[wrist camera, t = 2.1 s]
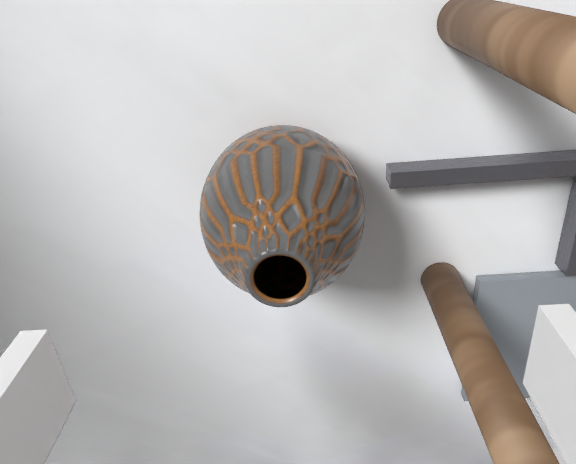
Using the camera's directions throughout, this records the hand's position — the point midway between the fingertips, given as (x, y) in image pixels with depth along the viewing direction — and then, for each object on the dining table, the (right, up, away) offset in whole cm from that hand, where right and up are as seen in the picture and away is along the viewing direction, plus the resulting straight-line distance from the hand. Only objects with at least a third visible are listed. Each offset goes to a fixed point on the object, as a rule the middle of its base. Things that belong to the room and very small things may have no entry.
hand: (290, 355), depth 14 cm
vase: (0, +6, +11) cm, 12 cm away
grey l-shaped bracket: (+10, +4, +11) cm, 16 cm away
